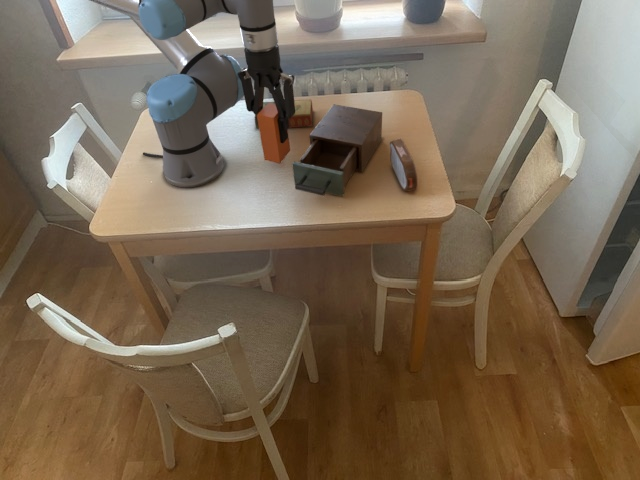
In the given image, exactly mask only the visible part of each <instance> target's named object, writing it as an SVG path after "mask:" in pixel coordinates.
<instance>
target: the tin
mask: <svg viewBox="0 0 640 480" xmlns="http://www.w3.org/2000/svg"><path fill="white" fill-rule="evenodd" d="M389 160H390V163H391V167H392V170H393V172H394V174H395V177H396V179H397V181H398V183H399V185H400V187H401V189H402V191H404V192H411V191H416V190H417V188H418V173H417V169H416V165H415V162H414V159H413V157H412V155H411V153H410V151H409V149H408V147H407V145H406V144H405V141H404V140H403V138H398V139H392V140H391V141H390V142H389Z"/></svg>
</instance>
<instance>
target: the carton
mask: <svg viewBox="0 0 640 480" xmlns="http://www.w3.org/2000/svg"><path fill="white" fill-rule="evenodd" d="M268 103H273V104H275V102H274V101H263V108H264V107H265V106H266V105H267V104H268ZM294 103H295V114H294V115H293V116H292V117H291V118H290V119H289V128H297V127H298V128H301V127H312V125H313V114H314V113H313V111H314V109H313V100H312V99H297V100H295V99H294ZM254 124H255V128H256V129H257V130H259V126H258V125H257V121H256V116H255V115H254Z"/></svg>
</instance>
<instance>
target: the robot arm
mask: <svg viewBox="0 0 640 480" xmlns="http://www.w3.org/2000/svg"><path fill="white" fill-rule="evenodd" d="M89 1H90V2H92V3H95V4H97V5H100V6H103V7H104V8H108V9H110V10H113V11H115V12H118V13H120V14H123V15H125V16H128V17H129V18H130V19H131V20H132V21H133V23H135V25H136V26H137V27H138V28H139V29H140V30H141V31H142V32H143V34H144V35H145V36H146V37H147V38H148V39H149V40H150V41H151V42H152V44H154V46H155V47H156V48H157V49H158V50H159V51H160V52H161V54H162V55H164V57H165V58H166V59H167V60H168V62H170V64H171V65H172V66H173V67H174V68H175V69H176V73H173V74H171V75H170V76H167V75H166V76H164V77H162V78H159V79H158V80H157V81H155V82H154V83H152V84H151V86H149V89H148V90H147V92H146V97H145V98H146V104H147V108H148V114H149V117H150V118H151V120H152V122H153V126H154V128H155V131H156V134H157V136H158V139H159V142H160V145H161V147H162V154H154V153H148V152H145V151H143V152H142V155H143V156H145V157H148V158H158V159H162V173H163V176H164V178H165V180H166V182H168V184H170V185H172V186H174V187H179V188H194V187H195V188H196V187H200V186H203V185H206V184H208V183H211V182H212V181H214V180H215V179H217V178H218V177H219V175H221V173H222V171H223V170H224V159H223V156H222V155H221V152H220V151H219V149H218V148H217V146H216V145H215V143H214V142H212V139H211V138H210V135H209V131H208V127H207V125H208V124H209V123H210V122H212V121H213V120H215V119H217V118H218V117H220V115H222V114H223V113H225V112H226V111H228V110H229V109H230V108H233V107H235V106H236V104H237V103H239V102H240V101H241V100H242V99H243V98H244V102H245V107H246V110H247V112H252V113H253V114H254V117H255V116H256V121H257V125H258V120H257V114H258V113H259V112H260V111H261V110H262V109H263V102H264V99H265V88H266V89H268V92H269V94H271V97H272V100H273V102H275V105H276V108H277V111H278V114H279V116H280V117H279V118H278V119H277V121H278V128H279V135H280V142H281V143H284V142H285V141H286V140H287V138H288V135H289V129H290V127H289V119H290V118H291V117H292V116H293V115H294V114H295V103H294V100H295V94H294V81H295V75H294V74H289V75H288V74H287V73H284V71H283V69H282V66H281V53H280V52H281V51H280V46H279V36H278V29H277V23H276V22H277V21H276V18H275V17H276V16H275V9H274V8H275V7H274V0H89ZM220 13H224V14H229V15H235V16H237V19H238V23H239V24H238V25H239V29H240V34H241V35H240V36H241V40H242V44H243V45H242V46H243V47H244V49H243V52H244V59H245V63H246V65H247V67H243V68H242V67H241V65H240V63H239V62H238V60H236V59H235V58H234V57H233V56H231V55H228V54H220V55H219V54H218V53H217V51H215V50H214V48H213V47H212V46H204V45H202V44H201V43H200V42H199V40H198V39H197V38H196V37H195V36H194V35H193V34H192V32H191V31H190V30H189V29H191V28H193V27H195V26H196V25H199V24H200V23H202V22H204V21H206V20H208V19H210V18H212V17H215V16H216V15H218V14H220ZM252 80H253V82H252ZM280 80H281V82H282V83H281V82H280ZM282 86H283V88H282ZM282 90H283V91H282ZM258 126H259V125H258ZM287 130H288V132H287Z"/></svg>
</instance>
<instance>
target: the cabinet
mask: <svg viewBox="0 0 640 480" xmlns="http://www.w3.org/2000/svg"><path fill="white" fill-rule="evenodd" d="M382 133H383V112H382V111H378V110H377V111H376V110H371V109H365V108H360V107H354V106H347V105H340V104H332V105H331V107H330V109H329V110H328V111H327V112H326V114H324V116H323V117H322V119H321V120H320V121H319V122H318V124H317V125H316V126H315V128H313V130H312V131H311V133H310V134H309V143H310V144H309V146H310V145H311V144H312V143H313V141H314V140H315V139H319V140H324V141H329V142H335V143H340V144H345V145H350V146H355V147H359V164H358V166H357V167H356V169H355V171H354V172H359V173H362V172H363V171H364V169H365V168H366V166H367V164H368V162H369V161H370V159H371V157H372V155H373V153H374V152H375V151H376V149H377V147H378V146H379V144H380V142H381V141H382V135H383V134H382Z"/></svg>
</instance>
